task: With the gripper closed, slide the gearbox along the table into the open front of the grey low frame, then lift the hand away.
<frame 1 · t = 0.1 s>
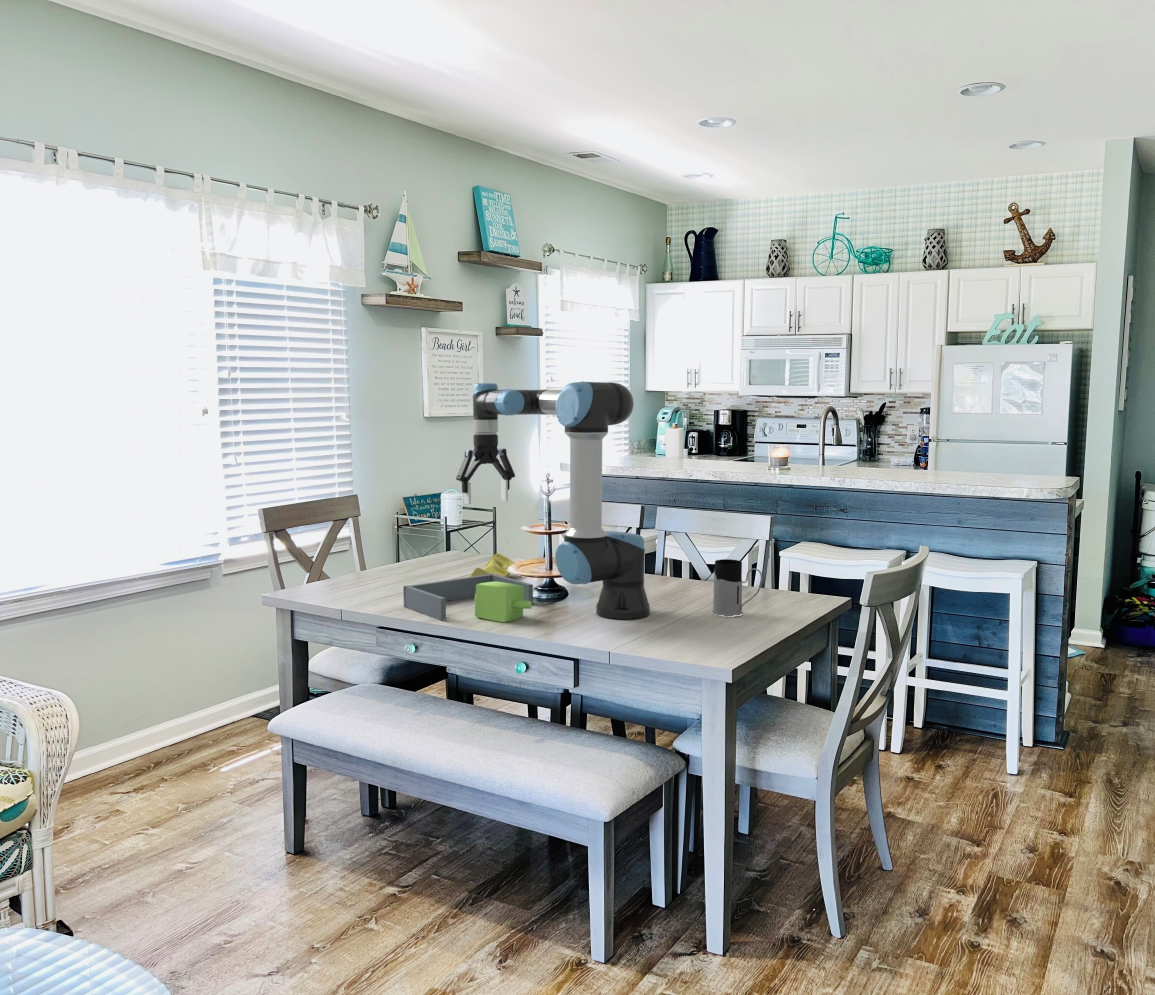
hand: (486, 502, 292), 28 cm above the table, tool pointing down, fingers open, 13 cm apart
yellow crumpled cloth: (493, 581, 312), on the table
gearbox: (503, 618, 260), on the table
grey low frame: (468, 605, 274), on the table
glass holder: (736, 615, 264), on the table
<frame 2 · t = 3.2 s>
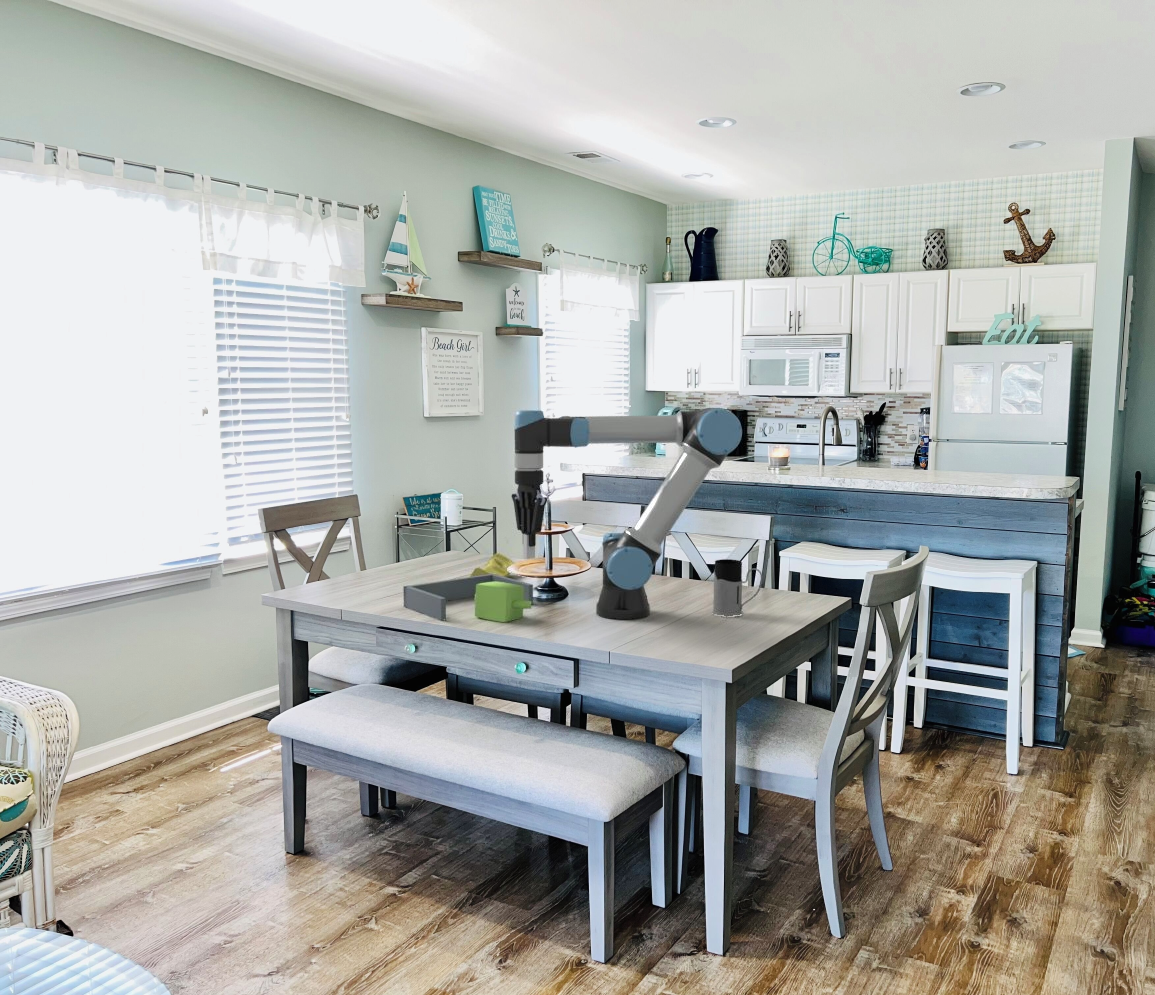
hand: (529, 558, 249), 18 cm above the table, tool pointing down, fingers closed
nothing on the table moved.
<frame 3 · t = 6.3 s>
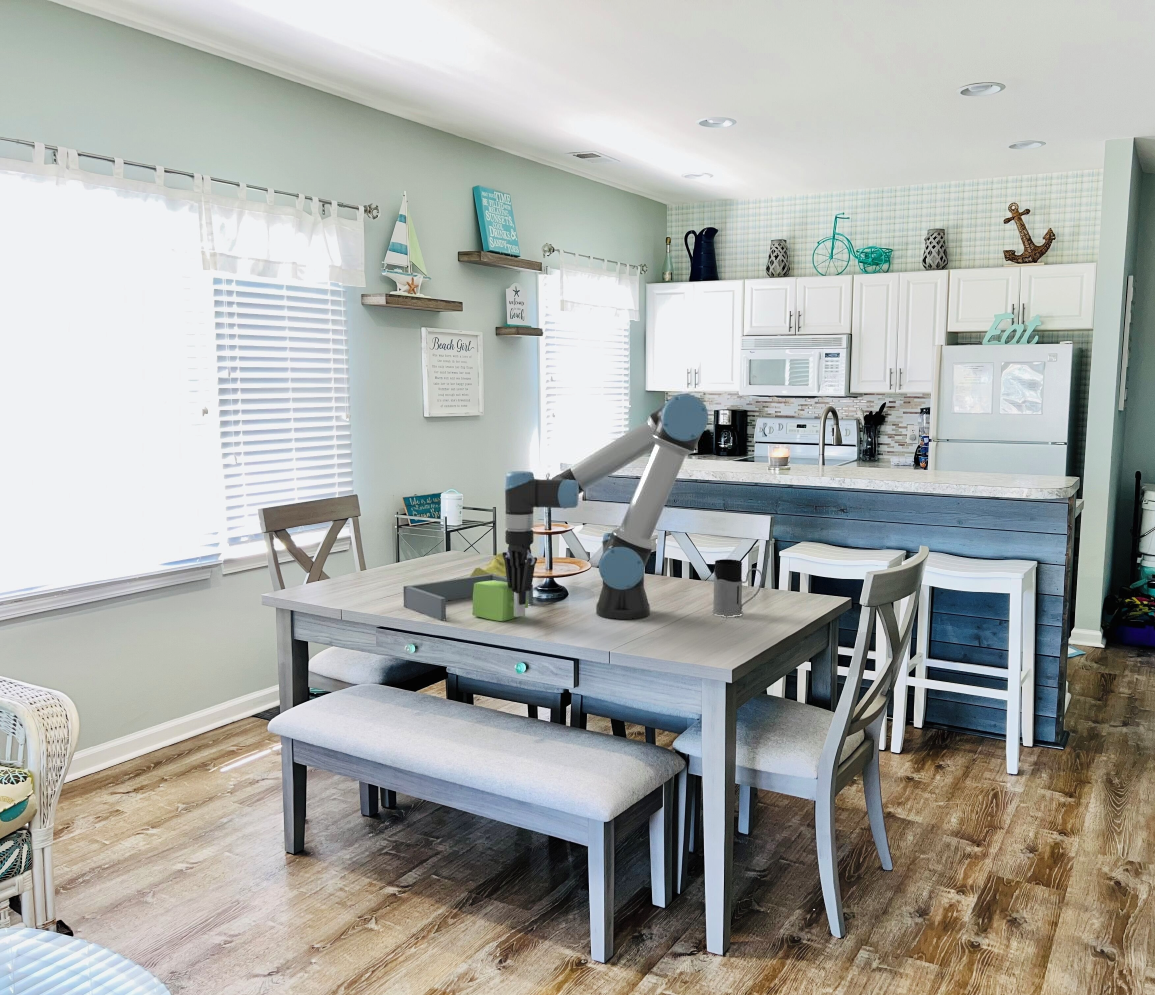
hand: (519, 615, 254), 2 cm above the table, tool pointing down, fingers closed
gearbox: (501, 617, 261), on the table, touching gripper, hand
everything else where it was.
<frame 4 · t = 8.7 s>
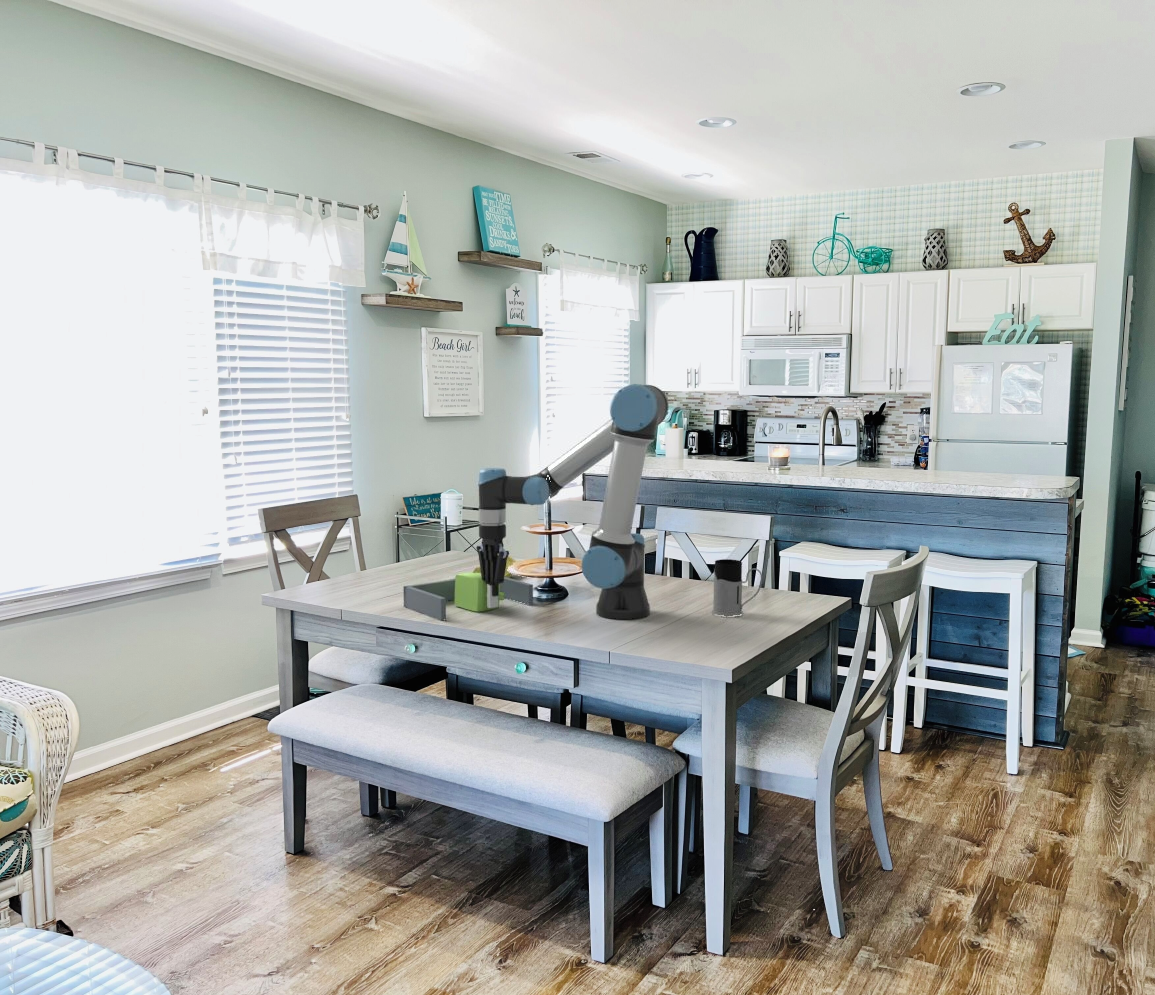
hand: (492, 606, 264), 2 cm above the table, tool pointing down, fingers closed
gearbox: (481, 608, 272), on the table, touching gripper
everything else where it was.
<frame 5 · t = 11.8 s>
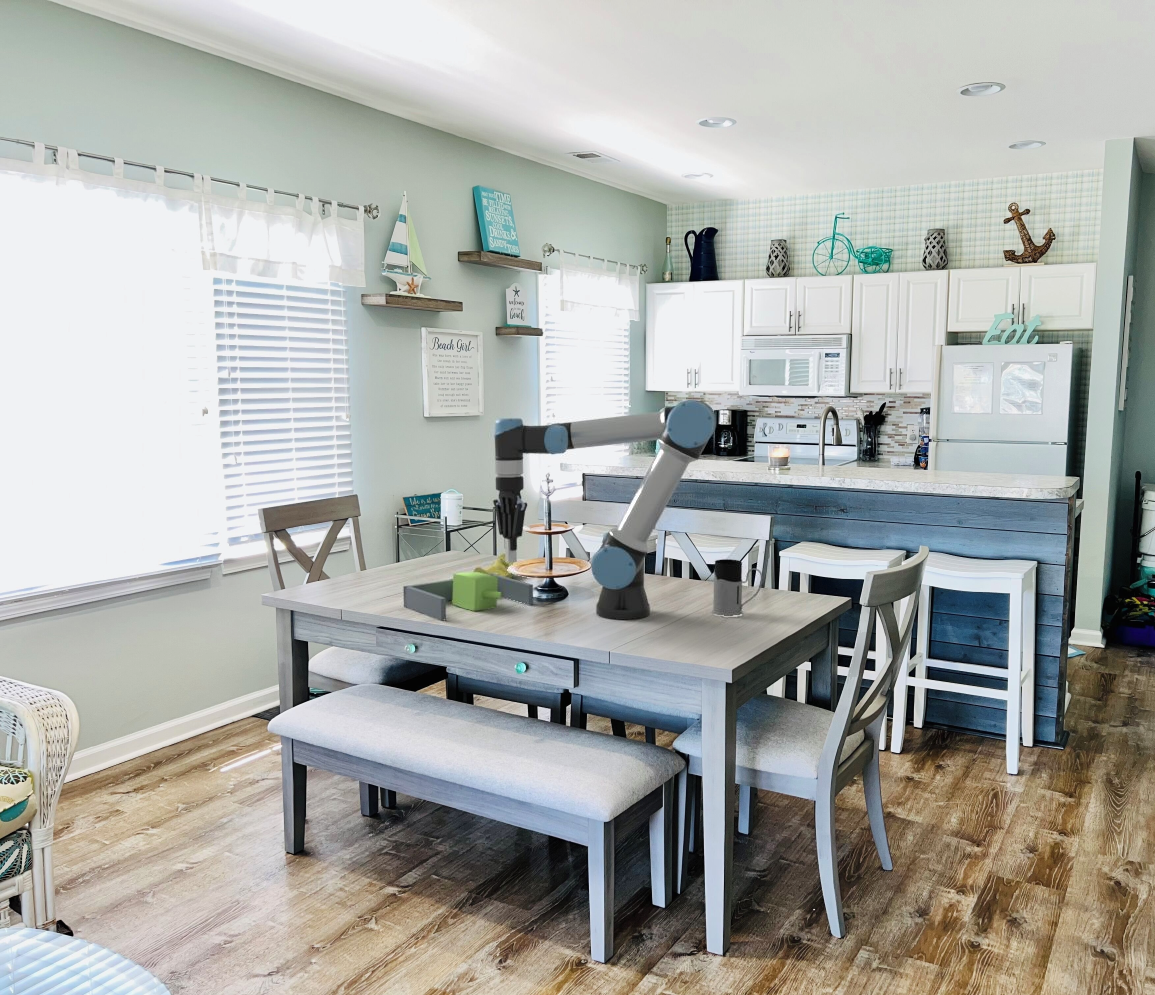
hand: (511, 561, 256), 16 cm above the table, tool pointing down, fingers closed
gearbox: (479, 607, 273), on the table
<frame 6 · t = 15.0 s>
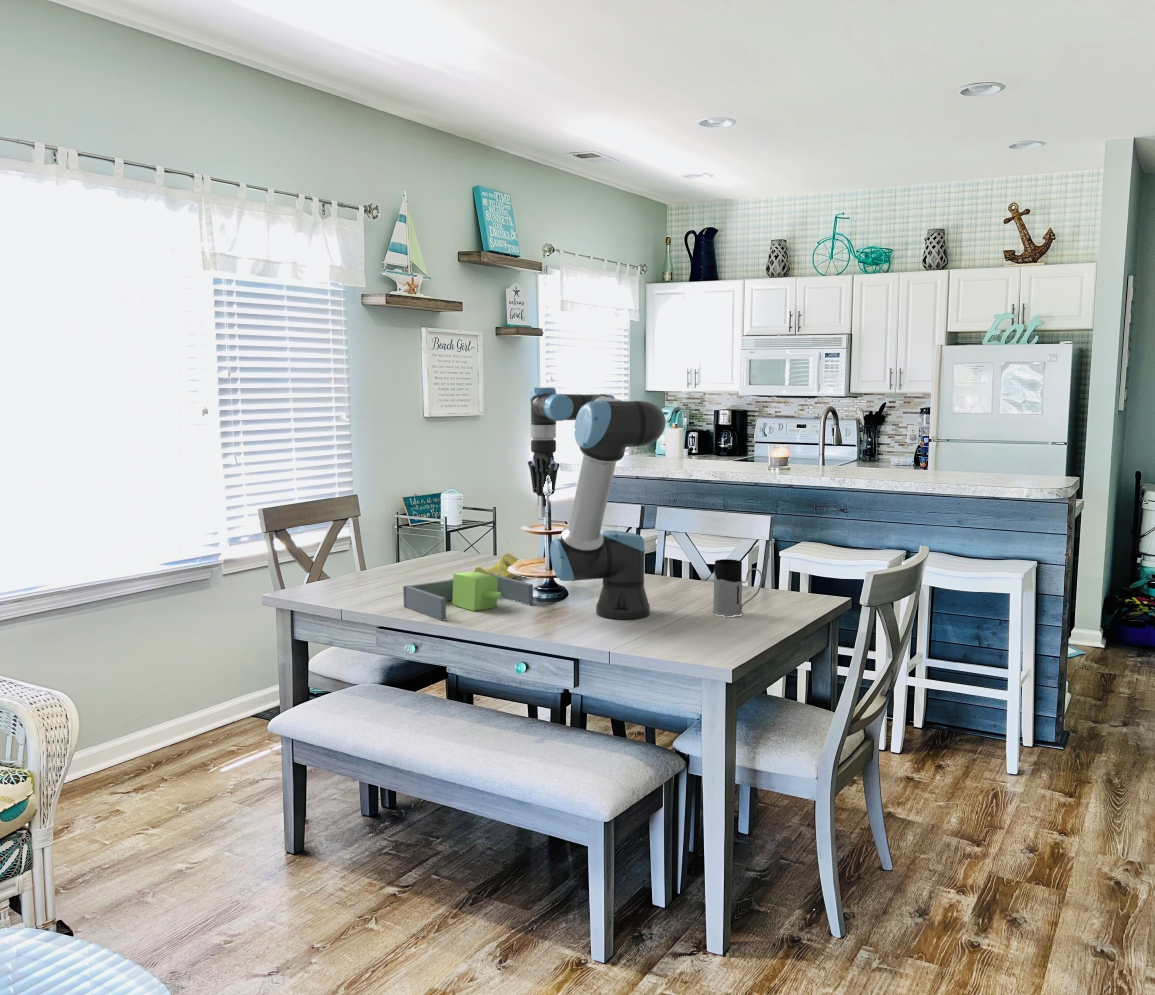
hand: (543, 516, 285), 24 cm above the table, tool pointing down, fingers closed
at the end: gearbox inside the target area on the grey low frame (2.7 cm from its centre), point 0.0 cm above the grey low frame's base; gearbox tilted 1°; gearbox moved 15.5 cm from its start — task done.
